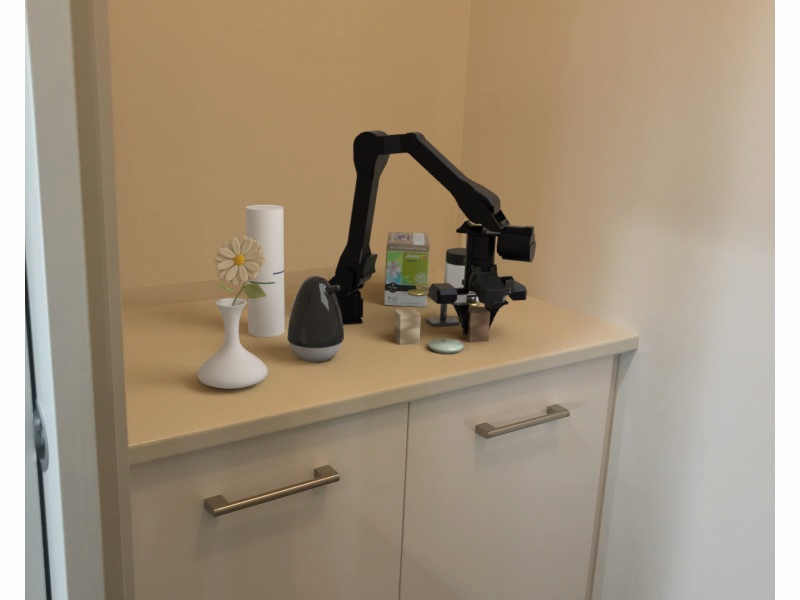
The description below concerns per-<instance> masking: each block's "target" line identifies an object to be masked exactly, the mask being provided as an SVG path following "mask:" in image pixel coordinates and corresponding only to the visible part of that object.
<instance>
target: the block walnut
mask: <svg viewBox="0 0 800 600" xmlns="http://www.w3.org/2000/svg"><path fill="white" fill-rule="evenodd" d="M489 323H490V312H489V311H488V310H487V309H485V308H484V306H478V307H469V309H468V331H467V335H465V334H464V333H463V332H462V334H461V336H462V338H464V339H465V340H466V341H467V342H469V343H479V342H480V343H481V342H489V334H490V329H489Z"/></svg>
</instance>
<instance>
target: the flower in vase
mask: <svg viewBox="0 0 800 600" xmlns="http://www.w3.org/2000/svg"><path fill="white" fill-rule="evenodd" d="M262 248H263V246H262V245H261V244H259V242H257V241H255V240H252V238H248V237H246V235H243V234H242V235H241V236H238V237H236V236H233V237H231V239H229V240H225V241H224V242H223V243H222V245H221V247H218V248H217V254H216V255H214V260H213V263H214V265H216V266H215V270H216V271H218V272H216V275H217V277H219V278H220V279H222V280H224V282H229V283H230V284H231V285H233V286H237V285H242V286H241V288H240V290H239V291H238V293H236V292H235V291H234V290H233V289H232V288H231V287H228V286H227V285H224V284H223V283H220V282H219V281H217V279H216V278H215V282H216V284H217V285H218V286H220V287H221V288H223V289H225V290H227V291H229V292H230V293H232V294H234V295H236V296H235V297H226V298H220V299H217V300H216V301H215V302H214V304H215V306H217V307H216V308H218V310H219V311H220V314H221V316H222V320H223V326H224V327H223V328H224V341H223V345H222V346H221V348H220V349H219V350H217V352H215V353H214V354H212V355H211V356H210V357H209V358H207V359H206V360H205V361H204V362H203V364H201V366H199V369H198V371H197V378H198V380H199V381H200V382H201V383H202V384H204V385H207V386H210V387H213V388H219V389H225V390H229V389H242V388H247V387H251V386H253V385H256V384H258V383H260V382H262V381H264V379H265V378H267V375H268V373H269V370H268V368H267V366H266V365H267V364H265V363H264V362H263V361H262V360H261V359H260V358H259V357H257V356H256V355H254V354H253V353H252V352H251V351H248V350H247V349H246V348H244V346H243V345H242V344H241V341H240V333H239V332H240V318H241V314H242V312H243V309H244V308H245V306H246V305H247V304H248V300H246V299H244V298H239V296H241V293H242V292H243V291H244V293H245V295H246V296H247V299H248V298H251V299H255V298H261V297H265V296H267V295H266V294H265V292H264V291H263V290H262V288H261V287H260V286H259V285H258V284H257V283H251V284H248V285H247V281H251V280H252V279H255V278H256V276H258V271H260V270H262V266H263V265H264V262H265V261H266V258H265V257H263V255H264V251H263V250H262Z"/></svg>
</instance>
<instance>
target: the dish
mask: <svg viewBox="0 0 800 600" xmlns="http://www.w3.org/2000/svg"><path fill="white" fill-rule="evenodd" d="M428 348H429V349H430V350H431V351H433V352H435V353H438V354H444V355H445V354H447V355H449V354H450V355H451V354H457V353H459V352H461V351H462V350H463V349H464V343H463V342H462V341H460V340H457V339H452V338H435V339H431V340H429V341H428Z"/></svg>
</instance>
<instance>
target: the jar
mask: <svg viewBox="0 0 800 600" xmlns="http://www.w3.org/2000/svg"><path fill="white" fill-rule="evenodd" d="M465 254H466V247H454V248H453V247H452V248H448V249H446V251H445V260H444V278H443V279H444V280H443V283H449V284H451V285H452V286H453V287H455V288H462V287H464V286H463V285H462V280H463V279H464V272H465V265H463V259H465ZM476 301H479V300H478V297H477V299H476Z"/></svg>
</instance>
